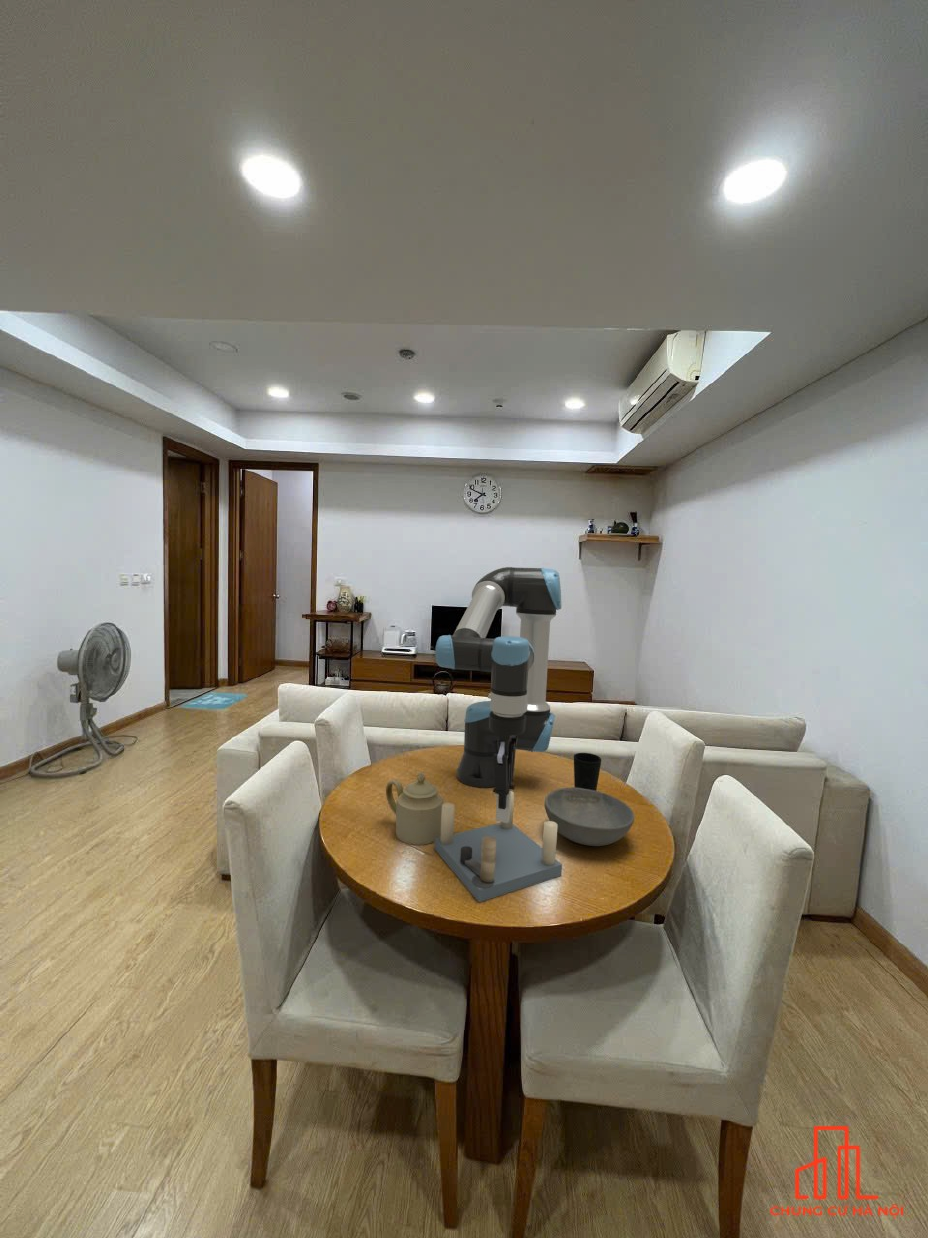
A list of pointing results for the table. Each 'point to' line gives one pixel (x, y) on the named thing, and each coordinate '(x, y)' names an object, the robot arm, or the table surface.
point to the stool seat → (499, 855)
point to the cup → (586, 770)
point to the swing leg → (482, 859)
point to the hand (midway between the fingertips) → (502, 820)
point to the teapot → (416, 811)
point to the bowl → (588, 816)
